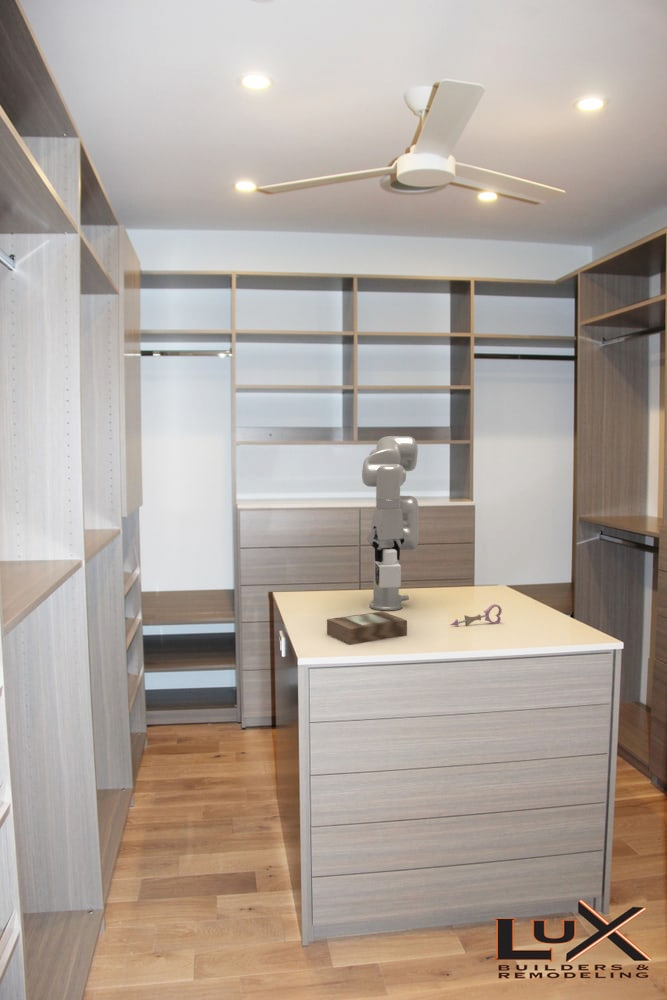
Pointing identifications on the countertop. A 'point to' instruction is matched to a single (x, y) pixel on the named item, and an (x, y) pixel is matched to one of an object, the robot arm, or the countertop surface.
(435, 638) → the countertop surface
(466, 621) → the decorative key
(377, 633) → the shelf riser
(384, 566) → the medicine bottle
